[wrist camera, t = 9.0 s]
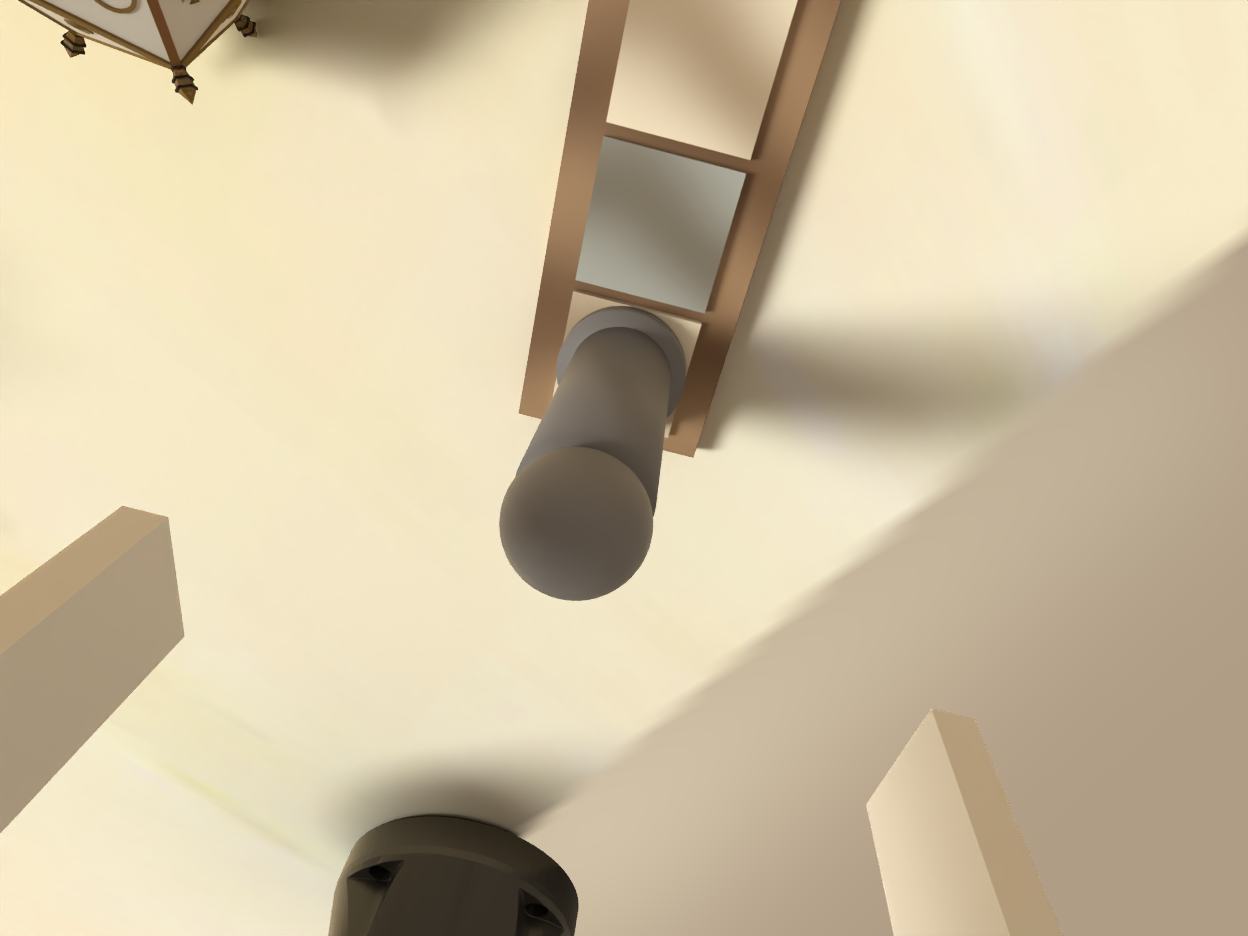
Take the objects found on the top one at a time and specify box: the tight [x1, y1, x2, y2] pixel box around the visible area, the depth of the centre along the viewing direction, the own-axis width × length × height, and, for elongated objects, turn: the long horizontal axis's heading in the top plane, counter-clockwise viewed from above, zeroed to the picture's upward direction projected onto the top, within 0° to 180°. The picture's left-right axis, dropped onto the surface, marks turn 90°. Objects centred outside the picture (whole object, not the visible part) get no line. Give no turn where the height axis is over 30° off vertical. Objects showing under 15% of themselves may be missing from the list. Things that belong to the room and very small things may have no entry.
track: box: [519, 0, 841, 457], centre depth 22 cm, size 21×7×1 cm, turn 167°
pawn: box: [499, 306, 686, 601], centre depth 20 cm, size 5×5×12 cm
